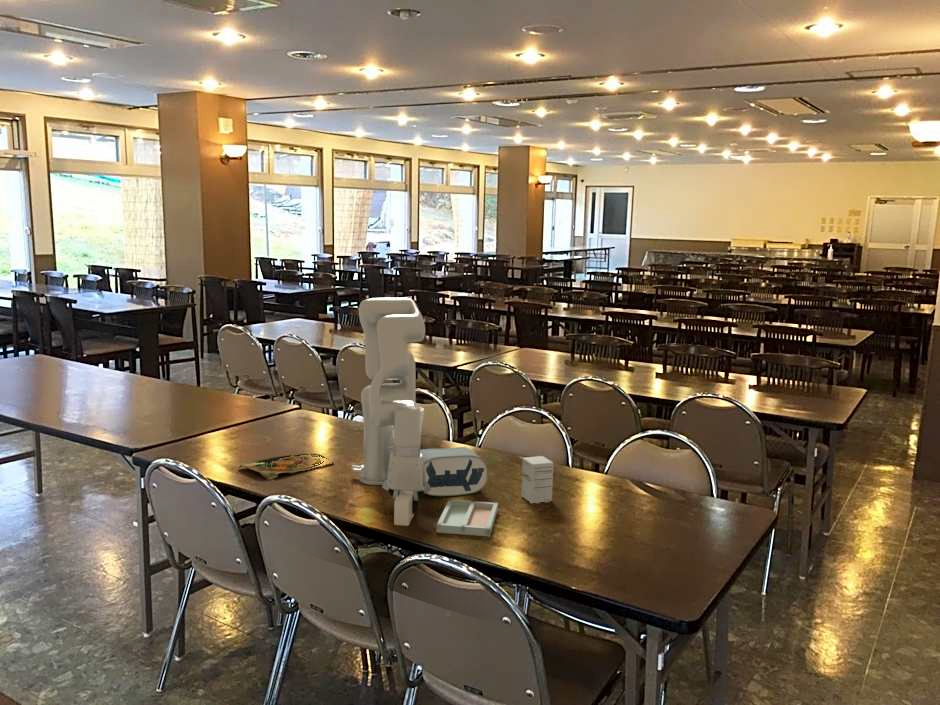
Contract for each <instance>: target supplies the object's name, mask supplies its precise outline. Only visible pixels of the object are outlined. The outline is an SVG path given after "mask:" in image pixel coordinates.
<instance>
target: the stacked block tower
mask: <svg viewBox="0 0 940 705" xmlns="http://www.w3.org/2000/svg"><path fill="white" fill-rule="evenodd" d="M521 468H522V469H521V471H522V472H521V492H520V493H521V494H520V495H521V497H522V498H523V499H525V500H527V502H528V501H529V502H528V503H529V504H530V505H533V504H532V503H536V504H541V503H540V502H545V503H551V502H550V501H553V487H554V486H553V484H554V482H553V480H554V462H553V461H552V460H550V459H548V458H547V457H545V456H543V455H537V456H528V457H527V456H526V457H522V467H521Z"/></svg>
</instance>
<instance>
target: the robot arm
mask: <svg viewBox="0 0 940 705" xmlns="http://www.w3.org/2000/svg"><path fill="white" fill-rule="evenodd" d="M358 306H359V307H358V318H359V319H358V320H359V322H360V325H361V328H362V331H363V335H364V342H365V343H364V351H365V352H364V353H365V354H364V357H365V358H364V360H365V364H364V365H365V373H366V376H367V378H369V379H370V380H371V382H370V385H367V386H365V387H364V388H363V389H362V391H361V393H360V402H361V408H362V409H361V411H362V416H363V464H361V465H355V464H352V465H351V466H350V469H351V472H352V473H354V474H359V476H358V480H359V482H360V483H362V484H365V485H369V486H381V487H382V489H384V490H385V491H387V492H388V494H390V496H391V497H392V499H393V502H394V501H395V499H396V498H397V496H398V495H399V493H400V492H401V491H413V496H414V498H413V501H412V513H413V514H414V515H415V514H416V513H417V511H419V507H420V506H419V505H420V504H419V500H420V499H421V497H422V496H424V495H425V494H426V493H427V492H429V491H430V490H431V487H430V486H429V484H428V482H427V481H426V479H425V470H424V461H423V455H422V454H421V453H420V450H421V435H422V429H421V412H420V409H419V407H420V406H419V405H418V404H417V402H416V386H417V385H416V382H417V380H416V373H417V372H416V360H415V357H414V355H413V353H412V352H411V351H410V350H409V348H408V343H420V342H422V341H423V340H424V339H425V336H426V325H425V320H424V318H423V315H422V313H421V311H420V309H419V307H418V305H417V303H416V301H415V300H414V299H412V298H411V297H372V298H366V299H364V300H362V301H361V302H360V304H359V305H358ZM390 380H391V381H396V380H399V382H397V383H396V382H395V383H384V382H385V381H390ZM423 486H424V489H423V490H422V488H423Z"/></svg>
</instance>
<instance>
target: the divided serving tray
mask: <svg viewBox="0 0 940 705" xmlns="http://www.w3.org/2000/svg"><path fill="white" fill-rule="evenodd" d="M498 509H499V503H498V502H489V501H474V500H462V499H450V498H449V499H448V501H447V503H446V504H445V507H444V509H443V511H442V513H441V514H440V517H439V519H438V521H437V523H436V533H441V534H451V535H452V534H455V535H464V536H465V535H467V536H477V537H478V536H479V537H491V533H492V531H493V527H494V523H495V521H496V518H495V517H497V514H498V511H499V510H498Z"/></svg>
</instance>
